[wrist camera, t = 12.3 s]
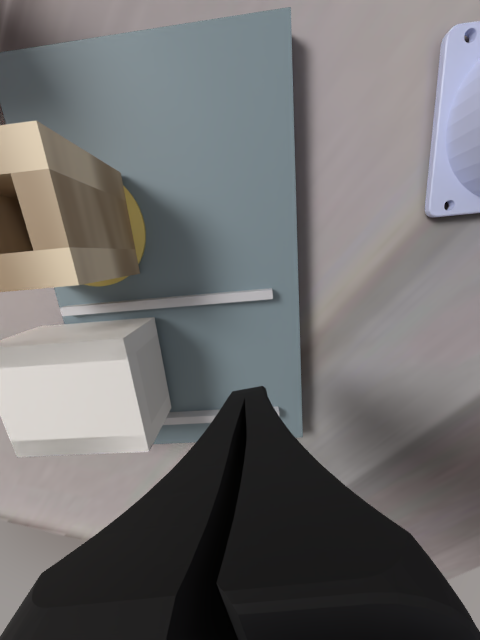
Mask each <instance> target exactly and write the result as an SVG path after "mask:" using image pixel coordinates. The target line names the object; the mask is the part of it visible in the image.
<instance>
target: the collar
mask: <svg viewBox="0 0 480 640" xmlns="http://www.w3.org/2000/svg"><path fill="white" fill-rule="evenodd" d="M136 274H140V270H139V265H138V260H137V255H136V250H135V244H134V239H133V234H132V229H131V224H130V218H129V213H128V208H127V203H126V198H125V192H124V187H123V182H122V177H121V173H120V172H119V171H117V170H116V169H114V168H112V167H111V166H109V165H107V164H106V163H104V162H103V161H101V160H99V159H98V158H96V157H95V156H93V155H91V154H90V153H88V152H86V151H85V150H83V149H82V148H80V147H78V146H77V145H75V144H74V143H72V142H70V141H69V140H67V139H65V138H64V137H62V136H61V135H59V134H57V133H56V132H54V131H52V130H51V129H49V128H48V127H46V126H44V125H43V124H41V123H40V122H38V121H29V122H21V123H14V124H6V125H0V292H6V291H18V290H30V289H41V288H53V287H64V286H76V285H83V284H88V283H93V282H99V281H104V280H109V279H115V278H120V277H125V276H130V275H136Z"/></svg>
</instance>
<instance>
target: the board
mask: <svg viewBox="0 0 480 640" xmlns="http://www.w3.org/2000/svg"><path fill="white" fill-rule="evenodd" d="M0 104H1V108H2V111H3V114H4V118H5V121H6V124H14V123H21V122H29V121H38V122H40V123H41V124H43V125H44V126H46V127H48V128H49V129H51V130H52V131H54V132H56V133H57V134H59V135H61V136H62V137H64V138H65V139H67V140H69V141H70V142H72V143H74V144H75V145H77V146H78V147H80V148H82V149H83V150H85V151H86V152H88V153H90V154H91V155H93V156H95V157H96V158H98V159H99V160H101V161H103V162H104V163H106V164H107V165H109V166H111V167H112V168H114V169H116V170H117V171H119V172H120V173H121V177H122V182H123V187H124V192H125V198H126V203H127V208H128V213H129V218H130V224H131V229H132V234H133V239H134V244H135V250H136V255H137V260H138V265H139V270H140V274H136V275H130V276H125V277H120V278H115V279H109V280H104V281H99V282H93V283H88V284H83V285H76V286H64V287H54V290H55V293H56V297H57V300H58V304H59V307H60V311H61V314H62V317H63V321H64V324H75V323H87V322H100V321H113V320H125V319H138V318H150V317H154V318H155V323H156V328H157V334H158V339H159V344H160V349H161V355H162V360H163V365H164V371H165V376H166V381H167V386H168V392H169V397H170V402H171V409H170V411H169V413H168V415H167V417H166V419H165V421H164V423H163V425H162V427H161V429H160V431H159V433H158V435H157V437H156V439H155V441H154V443H153V444H167V443H189V442H197V441H198V440H199V438H200V437H201V436H202V434H203V433H204V432H205V430H206V429H207V428H208V427H209V425H210V424H211V422H212V421H213V419H214V418H215V417H216V415H217V414H218V412H219V411H220V409H221V408H222V406H223V404H224V403H225V401H226V400H227V398H228V397H229V395H230V394H231V393H232V391H237V390H242V389H248V388H253V387H258V386H263V387H265V388H266V391H267V395H268V398H269V400H270V402H271V404H272V406H273V408H274V409H275V411H276V412H277V414H278V415H279V417H280V418H281V420H282V421H283V423H284V424H285V425H286V427H287V428H288V429H289V431H290V432H291V433H292V434H293V436H294V437H295V438H298V437H303V429H302V393H301V358H300V322H299V287H298V251H297V215H296V180H295V144H294V108H293V73H292V37H291V7H288V8H281V9H275V10H269V11H262V12H256V13H249V14H243V15H237V16H230V17H224V18H217V19H211V20H205V21H198V22H192V23H185V24H179V25H173V26H166V27H160V28H153V29H147V30H141V31H134V32H128V33H121V34H115V35H108V36H102V37H96V38H89V39H83V40H76V41H70V42H64V43H57V44H51V45H44V46H38V47H32V48H25V49H19V50H12V51H6V52H0Z"/></svg>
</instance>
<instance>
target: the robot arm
mask: <svg viewBox="0 0 480 640" xmlns="http://www.w3.org/2000/svg"><path fill="white" fill-rule="evenodd" d="M464 36H467V37H468V38H469V43H467V42H466V41H465V40H464ZM446 202H448V204H449V207H448V209H447V210H445V209H444V205H445V203H446ZM425 213H426V215H427V216H429V217H433V218H434V217H444V216H454V215H464V214H475V213H480V21H475V22H469V23H462V24H458V25H455V26H454V27H453V28H451V29H450V30H449V31H448V33H447V34H446V35H445V36H444V38H443V40H442V43H441V51H440V61H439V71H438V81H437V91H436V101H435V111H434V121H433V131H432V141H431V151H430V161H429V172H428V182H427V192H426V202H425ZM0 640H480V632H479V630H478V628H477V627H476V625H475V623H474V622H473V620H472V618H471V616H470V615H469V613H468V611H467V610H466V608H465V606H464V605H463V603H462V602H461V600H460V599H459V597H458V596H457V595H456V593H455V592H454V590H453V589H452V587H451V586H450V585H449V583H448V582H447V580H446V579H445V577H444V576H443V575H442V573H441V572H440V571H439V569H438V568H437V567H436V565H435V564H434V563H433V561H432V560H431V559H430V557H429V556H428V555H427V554H426V552H425V551H424V550H423V549H422V547H421V546H420V545H419V544H418V542H417V541H416V540H415V539H414V537H413V536H412V535H411V534H410V533H409V532H407V531H406V530H405V529H403V528H402V527H400V526H399V525H397V524H396V523H394V522H393V521H391V520H390V519H389V518H387V517H386V516H384V515H383V514H382V513H380V512H379V511H377V510H376V509H375V508H373V507H372V506H371V505H369V504H368V503H366V502H365V501H364V500H363V499H361V498H360V497H359V496H358V495H356V494H355V493H354V492H352V491H351V490H350V489H349V488H347V487H346V486H345V485H344V484H343V483H341V482H340V481H339V480H338V479H337V478H336V477H335V476H333V475H332V474H331V473H330V472H329V471H328V470H327V469H325V468H324V467H323V466H322V465H321V464H320V463H319V462H318V461H317V460H316V459H315V458H314V457H313V456H312V455H311V454H310V453H309V452H308V451H307V450H306V449H305V448H304V447H303V446H302V445H301V444H300V443H299V441H298V440H297V439H296V438H295V437H294V436H293V434H292V433H291V432H290V431H289V429H288V428H287V427H286V425H285V424H284V423H283V421H282V420H281V418H280V417H279V415H278V414H277V412H276V411H275V409H274V408H273V406H272V404H271V402H270V400H269V398H268V395H267V391H266V388H265V387H263V386H258V387H253V388H248V389H242V390H237V391H232V393H231V394H230V395H229V397H228V398H227V400H226V401H225V403H224V404H223V406H222V408H221V409H220V411H219V412H218V414H217V415H216V417H215V418H214V419H213V421H212V422H211V424H210V425H209V427H208V428H207V429H206V430H205V432H204V433H203V434H202V436H201V437H200V438H199V440H198V441H197V442H196V443H195V445H194V446H193V447H192V448H191V449H190V450H189V452H188V453H187V454H186V455H185V456H184V457H183V458H182V459H181V460H180V461H179V463H178V464H177V465H176V466H175V467H174V468H173V469H172V470H171V471H170V472H169V473H168V474H167V475H166V476H165V477H164V478H163V479H161V480H160V481H159V482H158V483H157V484H156V485H155V486H154V487H153V488H152V489H151V490H150V491H149V492H148V493H146V494H145V495H144V496H143V497H142V498H141V499H140V500H139V501H137V502H136V503H135V504H134V505H133V506H131V507H130V508H129V509H128V510H127V511H126V512H124V513H123V514H122V515H121V516H119V517H118V518H117V519H116V520H114V521H113V522H112V523H110V524H109V525H108V526H107V527H105V528H104V529H103V530H101V531H100V532H99V533H98V534H96V535H95V536H94V537H92V538H91V539H89V540H88V541H87V542H85V543H84V544H82V545H81V546H80V547H78V548H77V549H75V550H74V551H73V552H71V553H70V554H69V555H67V556H66V557H64V558H63V559H61V560H60V561H59V562H57V563H56V564H55V565H53V566H52V567H50V568H49V569H47V570H46V571H44V572H43V573H42V574H41V575H40V576H39V578H38V580H37V581H36V583H35V584H34V586H33V587H32V589H31V590H30V592H29V593H28V595H27V597H26V598H25V599H24V601H23V602H22V604H21V606H20V607H19V609H18V610H17V612H16V613H15V615H14V616H13V618H12V619H11V621H10V622H9V624H8V625H7V627H6V628H5V630H4V632H3V633H2V635H1V636H0Z"/></svg>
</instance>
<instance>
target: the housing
mask: <svg viewBox="0 0 480 640" xmlns="http://www.w3.org/2000/svg"><path fill="white" fill-rule="evenodd" d="M170 409H171V402H170V397H169V392H168V386H167V381H166V376H165V371H164V365H163V360H162V355H161V349H160V344H159V339H158V334H157V328H156V323H155V318H154V317H150V318H138V319H125V320H113V321H100V322H87V323H75V324H62V325H50V326H39V327H36V328H33V329H31V330H28V331H25V332H22V333H19V334H16V335H13V336H11V337H8V338H5V339H2V340H0V416H1V419H2V421H3V424H4V426H5V429H6V431H7V434H8V436H9V438H10V441H11V443H12V446H13V448H14V451H15V453H16V456H17V458H18V457H40V456H63V455H86V454H109V453H131V452H149V451H150V449H151V447H152V445H153V443H154V441H155V439H156V437H157V435H158V433H159V431H160V429H161V427H162V425H163V423H164V421H165V419H166V417H167V415H168V413H169V411H170Z"/></svg>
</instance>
